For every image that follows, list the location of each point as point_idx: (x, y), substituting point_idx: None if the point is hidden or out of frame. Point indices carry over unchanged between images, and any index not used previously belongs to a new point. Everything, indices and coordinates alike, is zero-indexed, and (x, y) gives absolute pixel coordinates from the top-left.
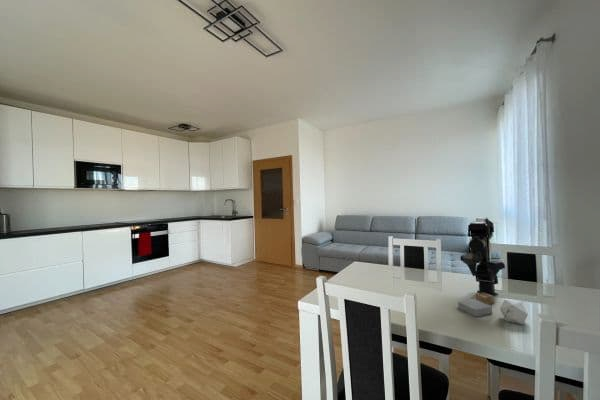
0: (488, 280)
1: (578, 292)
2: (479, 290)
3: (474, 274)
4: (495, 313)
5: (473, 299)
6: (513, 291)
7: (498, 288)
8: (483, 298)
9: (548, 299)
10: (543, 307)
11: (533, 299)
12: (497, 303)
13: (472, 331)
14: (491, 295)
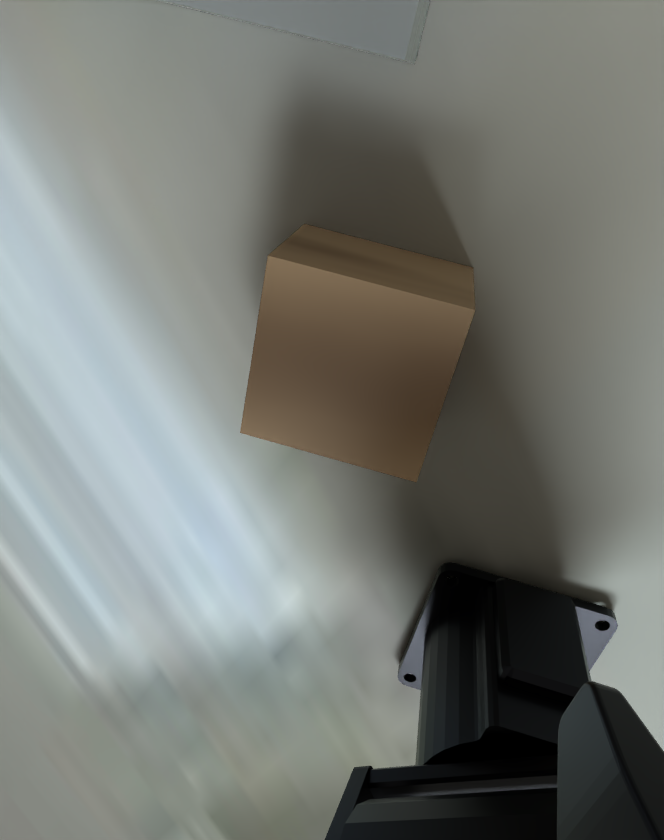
0: (423, 796)
1: None
2: (571, 616)
3: (573, 758)
4: (64, 29)
5: (384, 18)
6: None
7: None
8: (307, 254)
9: (120, 783)
10: (24, 616)
11: (166, 730)
12: None
13: None
14: (265, 429)
